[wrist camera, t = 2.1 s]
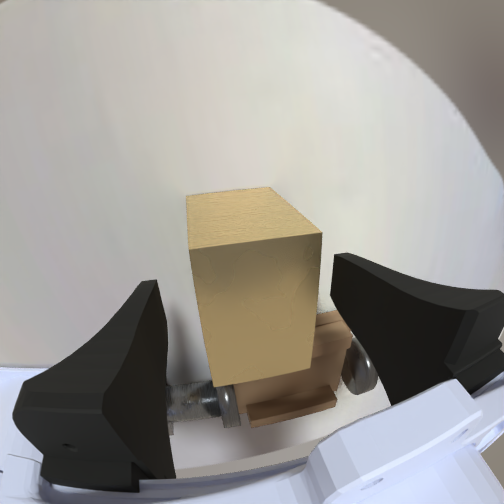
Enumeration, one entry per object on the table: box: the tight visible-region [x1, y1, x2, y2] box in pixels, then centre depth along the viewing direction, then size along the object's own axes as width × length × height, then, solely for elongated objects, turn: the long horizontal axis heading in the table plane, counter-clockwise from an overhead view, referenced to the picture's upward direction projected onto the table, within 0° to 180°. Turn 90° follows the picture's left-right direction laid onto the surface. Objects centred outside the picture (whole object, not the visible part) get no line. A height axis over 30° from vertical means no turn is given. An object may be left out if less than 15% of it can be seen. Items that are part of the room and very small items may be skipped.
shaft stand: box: [165, 310, 379, 435], centre depth 18 cm, size 20×8×4 cm, turn 93°
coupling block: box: [186, 187, 322, 387], centre depth 13 cm, size 6×4×6 cm, turn 3°
